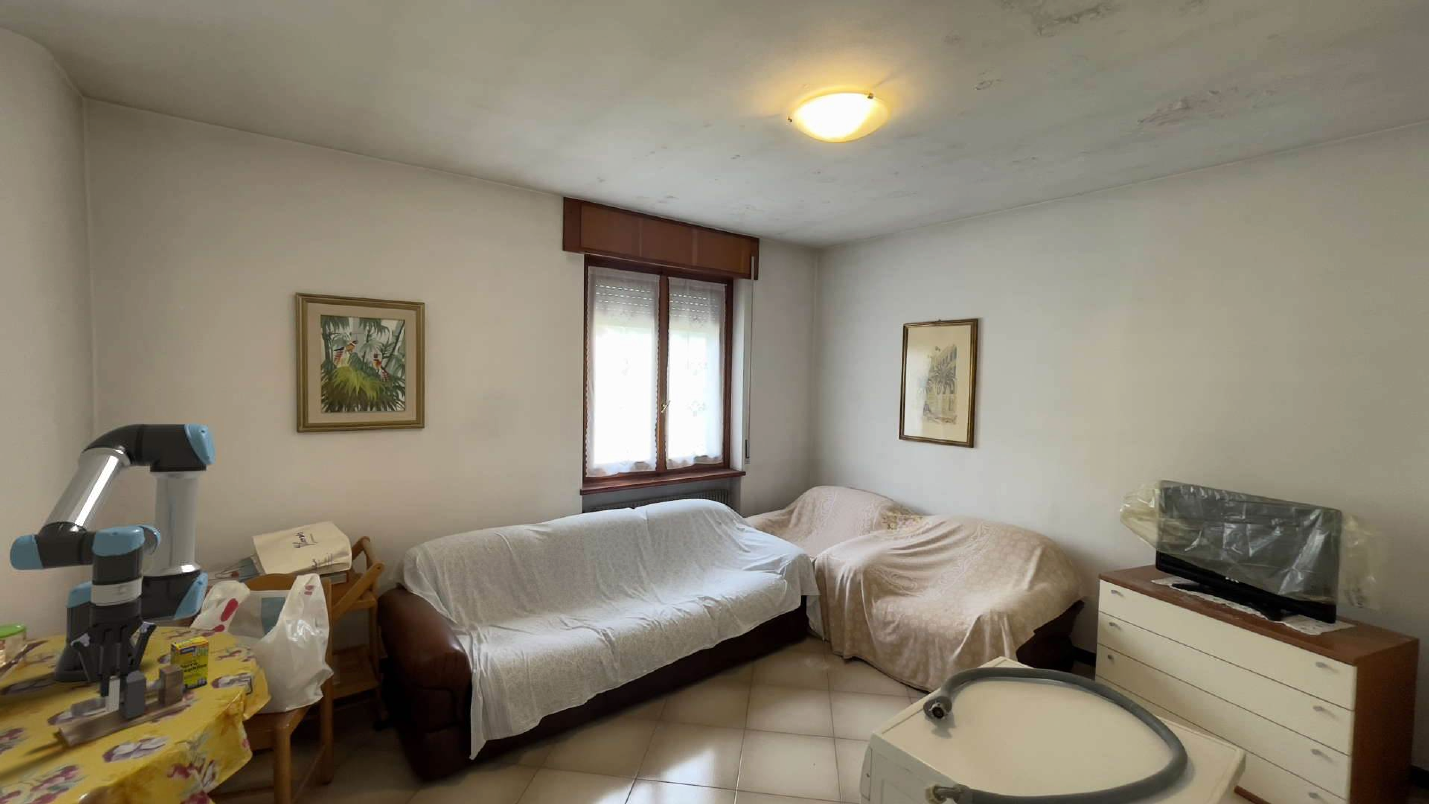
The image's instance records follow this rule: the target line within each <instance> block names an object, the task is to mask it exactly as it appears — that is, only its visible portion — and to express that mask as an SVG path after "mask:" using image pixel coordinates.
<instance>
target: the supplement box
mask: <svg viewBox="0 0 1429 804" xmlns="http://www.w3.org/2000/svg"><path fill="white" fill-rule="evenodd" d="M209 650H210V641H209V640H208V639H206V638H204V637H203V636H202V635H201V636H197V637H193V638H189V639H185V640H182V641H178V642H171V644H170V657H169V658H170V664H169V665H172V664H178V665H179V666H180V667H182V668H183V669H184V672H183V692H184V691H185V692H186V691H188V690H191V689H195V688H198V687H201V686H202V687H203V686H206V685H207V684H208V672H209V654H210V652H209Z"/></svg>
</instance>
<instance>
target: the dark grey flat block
mask: <svg viewBox="0 0 1429 804" xmlns="http://www.w3.org/2000/svg"><path fill="white" fill-rule="evenodd" d="M146 682H147V677H146V676H145V675H144V674H143V673H142V672H141V671H140V670H139V669H138V670H137V671H135V672H132V673H130V674H128V677H127V678H126V689H125V691H124V702H121V703H119V709H118V711H119V712H120V714H121V715H122V716H123V717H124V718H125V719H126V720H127V719H130V718H133V717H136V716H139V715H142V714H145V705H146V698H147V695H146Z"/></svg>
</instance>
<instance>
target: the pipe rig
mask: <svg viewBox="0 0 1429 804" xmlns="http://www.w3.org/2000/svg"><path fill="white" fill-rule="evenodd" d="M183 672H184V669H183V668H182V667H180V666H179V665H178V664H172V665H170V664H169V665H166V666H162V667H159V668H158V679H155V680H151V681H146V696H148V695H150V694H153V693H156V692H157V693H158V694H157V696H152V697H150V698H147V699H146V705H145V714H142V715H139V716H136V717H133V718H130V719H127V720H126V719H125V718H124V717H123V716H122V715H121V714H120V712H119V711H118V710H115V711H112V712H108V711H107V710H106V711H104V712H101V713H97V714H94V715H92V716H91V715H90V716H88V717H85V718H82V719H77V720H75V721H72V722H69V723H64V724H62V725H59V726H58V732H59V733H60V735H61V737H63V739H64V740H65V742H66V743H67V744H68V746H69V747H70V748H72V747H74V746H77V745H81V744H83V743H86V742H89V741H93V740H95V739H98V738H99V739H100V738H102V737H104V736H107V735H110V734H113V733H116V732H119V731H122V730H125V729H129V728H131V727H134V726H138V725H140V724H143V723H146V722H149V721H152V720H155V719H158V718H162V717H165V716H168V715H171V714H173V713H176V712H179V711H180V712H181V711H182V710H186V709H187V703H185V702H184V701H183V693H184V691H183ZM121 702H124V691H123V692H119V703H121ZM105 704H106V697H101V696H100V695H99V696H96V697H92V698H90V699H85V700H81V701H79V702H75V703H71V707H70V710H71V711H70V713H71V717H72V718H75V717H77V716H81V715H84V714H87V713H91V712H95V711H98V710H100V709H104V708H105Z"/></svg>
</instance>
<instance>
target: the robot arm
mask: <svg viewBox="0 0 1429 804" xmlns="http://www.w3.org/2000/svg"><path fill="white" fill-rule="evenodd" d="M215 456H216V448H215V441H214V437H213V433H212V432H211V430H210V428H209V427H208V426H206V425H203V424H191V423H184V424H183V423H182V424H181V423H180V424H179V423H178V424H177V423H174V424H173V423H172V424H171V423H169V424H168V423H164V424H163V423H162V424H161V423H160V424H159V423H158V424H157V423H134V424H133V423H132V424H128V425H124V426H120V427H117V428H114V429H112V430H110V431H108V432H106V433H104V434H102V435H101V436H98V437H97V438H95V439H94V440H93V441H91V442H90V443H89V444H88V445H87V446H86V447H85V448H83V450H82V452H81V453H80V455H79V456H78V459H77V465H78V468H77V469H76V472H75V473H74V475H73V477H72V478H71V479H70V481H69V483H68V484H67V486H66V487H65V489H64V491H63V493H62V494H61V496H60V497H59V499H58V501H57V502H56V504H55V505H54V507H53V508H52V511H51V512H50V514H49V515H48V517H47V519H46V520H45V522H44V523H43V525H42V526H41V528H40V530H39V531H38V533H36V534H35V533H31V534H26V535H21V536H19V537H17V538H16V539H15V540H14V541H13V543H12V544H11V546H10V547H11V548H10V551H9V562H10V565H11V566H12V568H13V569H15V570H17V571H31V570H32V571H34V570H35V571H36V570H42V571H43V570H48V569H49V570H50V569H60V568H68V567H69V568H70V567H79V566H92V569H91V570H92V573H91V580H89V581H87V582H83V583H81V584H78V585H77V586H75V587H73V588H72V589H71V590H70V591H69V593H68V597H67V603H66V606H65V608H66V623H65V625H66V629H65V630H66V632H65V646H64V647H63V650H62V652H61V654H60V656H59V658H58V661H56V662H57V663H56V665H55V666H54V669H53V679H54V680H55V681H58V682H79V681H86V680H88V681H89V682H90V684H95V683H99V686H98V687H99V688H98V689H99V690H98V695H99V696H101V697H106V704H105V707H104V708H105V710H106V712H107V711H108V712H112V711H115V710H118V709H119V692H123V691H125V689H126V678H127V677H128V674H130V673H132V672H135V671H137V670H138V671H139V669H140V666H141V663H142V660H143V657H144V655H145V651H146V649H147V646H148V643H149V640H150V637H151V635H152V634H153V633H154V631H155V630H156V629H157V625H156V624H155V622H157V623H158V622H164V621H172V620H173V621H177V620H179V619H187V618H190V617H191V618H192V617H193V616H195V615H197V613H199V610H200V609H201V607H202V605H203V602H204V600H205V596H206V592H207V588H208V585H209V579H208V578H209V574H208V573H206V572H201V569H202V567H201V565H199V564H198V563H196V562H195V549H196V547H195V546H196V534H197V533H196V532H197V531H196V530H197V516H198V515H197V513H198V498H199V497H198V495H199V479H200V477H202V475H203V474H205V473H206V472H207V466H209V467H210V466H212V465H213V464H214V463H215ZM132 467H149V474H150V475H152V476H153V477H154V478H155V479H156V488H155V490H156V491H155V504H154V520H153V521H154V522H153V526H151V525H146V524H138V525H129V526H128V525H126V526H114V527H109V528H105V529H101V530H91V529H92V527H93V526H94V524H95V522H96V520H97V518H98V516H99V514H100V513H101V511H102V510H103V507H104V505H105V503H106V502H107V500H108V498H109V496H110V494H111V493H112V490H113V489H114V488H115V487H114V486H115V485H116V483H117V481H118V479H119V478H120V476H121V475H123V474H125V473H126V472H128V470H130V468H132ZM150 556H151V565H150V567H149V568H148V569H147V570H146V571H144V572H143V561H144V560H145V559H146V558H148V557H150ZM138 630H139V635H138V637H137V640H136V641H135V640H134V639H135V638H134V637H133V636H134V635H135V633H136V632H137V631H138ZM115 673H116V675H115V676H111V675H112V674H115Z"/></svg>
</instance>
